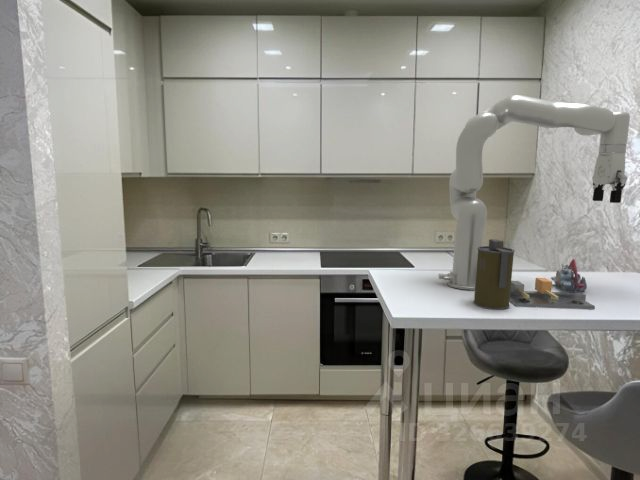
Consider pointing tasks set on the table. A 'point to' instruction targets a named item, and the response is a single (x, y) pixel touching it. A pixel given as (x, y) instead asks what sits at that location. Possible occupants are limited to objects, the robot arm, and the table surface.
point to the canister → (493, 275)
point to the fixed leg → (518, 289)
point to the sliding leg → (545, 287)
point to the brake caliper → (569, 279)
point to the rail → (545, 296)
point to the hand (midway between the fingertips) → (606, 201)
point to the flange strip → (551, 303)
